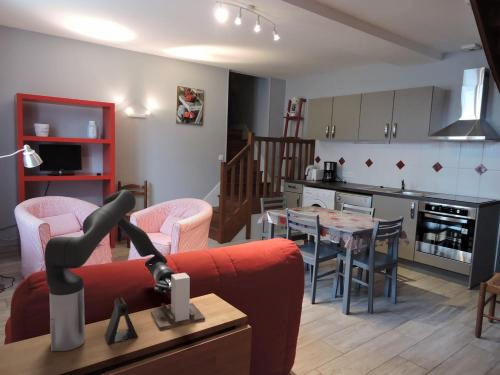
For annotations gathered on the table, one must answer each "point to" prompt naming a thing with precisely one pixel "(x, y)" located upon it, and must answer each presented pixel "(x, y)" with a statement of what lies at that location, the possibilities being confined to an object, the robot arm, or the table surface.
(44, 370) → the table surface
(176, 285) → the cream block
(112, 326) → the phone stand
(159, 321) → the ridged brown base plate
